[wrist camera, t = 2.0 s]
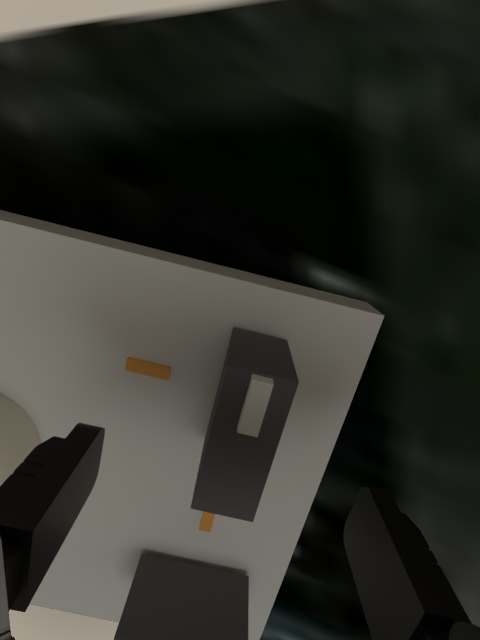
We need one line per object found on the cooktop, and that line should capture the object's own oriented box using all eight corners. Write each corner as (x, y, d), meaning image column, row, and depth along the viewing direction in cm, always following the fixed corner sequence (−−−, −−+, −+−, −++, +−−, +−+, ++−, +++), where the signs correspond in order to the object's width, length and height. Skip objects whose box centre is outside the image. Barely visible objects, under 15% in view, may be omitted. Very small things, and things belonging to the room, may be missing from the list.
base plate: (366, 301, 18) (438, 358, 11) (254, 606, 24) (256, 762, 17) (-37, 200, 17) (-234, 192, 10) (-41, 544, 23) (-163, 682, 16)
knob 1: (204, 441, 17) (188, 517, 13) (233, 326, 15) (226, 370, 11) (252, 452, 17) (252, 531, 13) (286, 339, 15) (300, 388, 11)
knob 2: (141, 552, 19) (110, 649, 15) (248, 575, 19) (248, 676, 15) (134, 584, 20) (103, 684, 16) (238, 606, 20) (234, 710, 16)
